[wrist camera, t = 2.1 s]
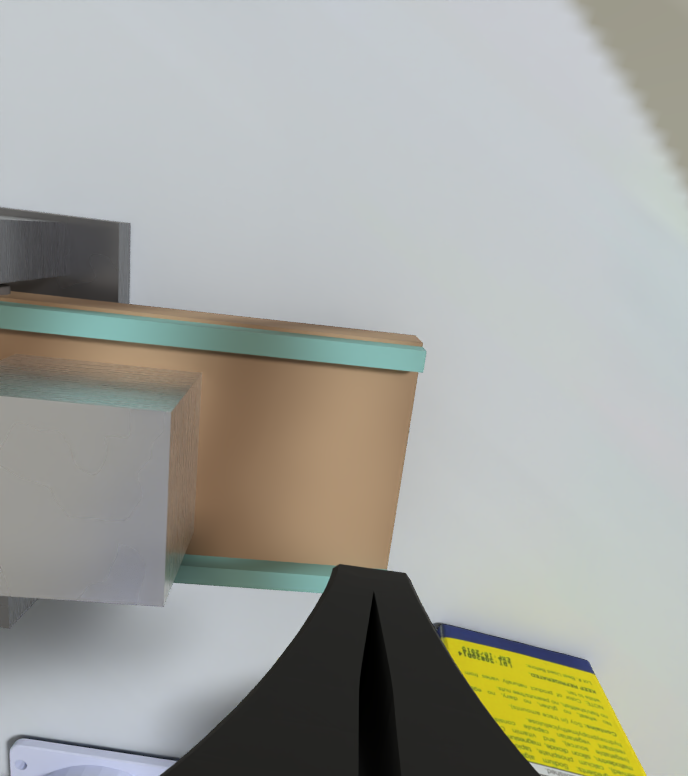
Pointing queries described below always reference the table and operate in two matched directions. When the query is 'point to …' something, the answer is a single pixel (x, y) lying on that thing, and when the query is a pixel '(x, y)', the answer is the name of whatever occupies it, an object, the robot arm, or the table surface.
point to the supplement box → (544, 705)
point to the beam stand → (61, 279)
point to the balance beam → (260, 428)
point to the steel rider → (95, 478)
